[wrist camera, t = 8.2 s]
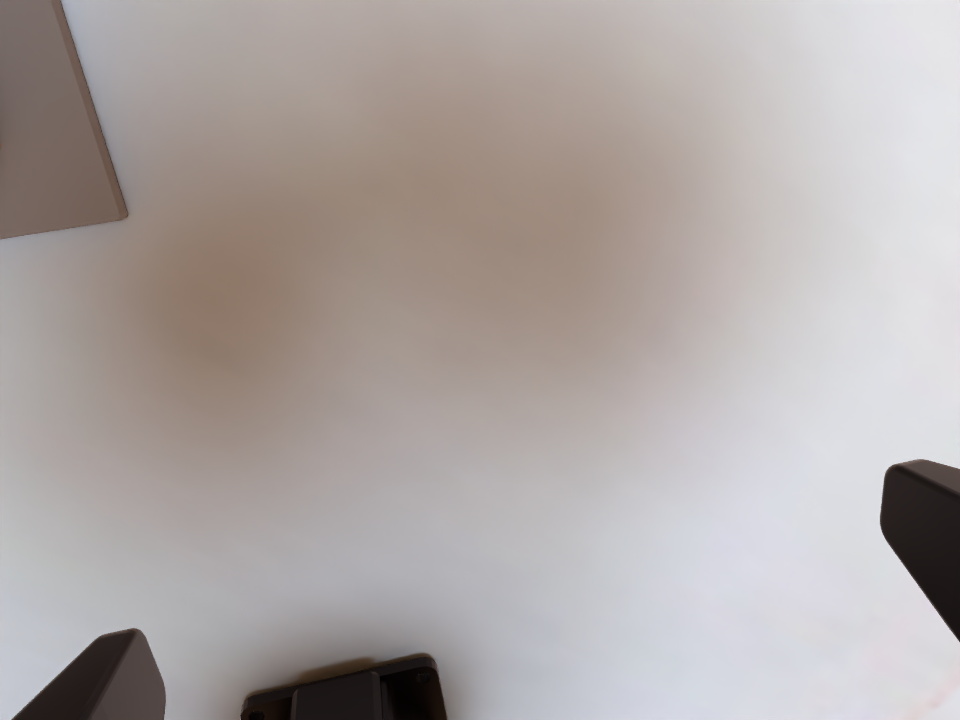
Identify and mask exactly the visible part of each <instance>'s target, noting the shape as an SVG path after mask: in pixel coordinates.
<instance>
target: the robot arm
mask: <svg viewBox="0 0 960 720" xmlns="http://www.w3.org/2000/svg"><path fill="white" fill-rule="evenodd" d="M880 525H881V530H882V533H883V535H884V537H885V539H886V541H887V542H888V544H889V545H890V547H891V548H892V549H893V551H894V552H895V554H896V555H897V556H898V558H899V559H900V560H901V562H902V563H903V565H904V566H905V567H906V569H907V570H908V572H909V573H910V574H911V576H912V577H913V579H914V580H915V581H916V583H917V584H918V586H919V587H920V588H921V590H922V591H923V592H924V594H925V595H926V597H927V598H928V599H929V601H930V602H931V604H932V605H933V606H934V608H935V609H936V611H937V612H938V613H939V615H940V616H941V618H942V619H943V620H944V622H945V623H946V625H947V626H948V627H949V629H950V630H951V631H952V632H953V634H954V635H955V636H956V638H957V639H958V640H959V642H960V469H958V468H954V467H950V466H947V465H943V464H939V463H936V462H932V461H929V460H924V459H918V460H913V461H908V462H903V463H899V464H894V465H892V466H891V467H889V468H888V470H887V471H886V473H885V477H884V485H883V495H882V504H881V513H880ZM421 672H427V673H426V674H424V675H419V673H421ZM165 704H166V694H165V687H164V682H163V679H162V677H161V674H160V672H159V669H158V667H157V664H156V662H155V659H154V657H153V654H152V652H151V649H150V647H149V644H148V642H147V639H146V637H145V635H144V634H143V633H142V631H141V630H139V629H136V628H131V629H127V630H122V631H117V632H113V633H108V634H104V635H101V636H99V637H98V638H97V639H96V640H94V641H93V642H92V643H91V644H90V645H89V646H88V647H87V648H86V649H85V650H84V651H83V652H82V653H81V654H80V655H79V656H77V657H76V658H75V659H74V660H73V661H72V662H71V663H70V664H69V665H68V666H67V667H66V668H65V669H64V670H63V671H62V672H61V673H60V674H59V675H58V676H57V677H55V678H54V679H53V680H52V681H51V682H50V683H49V684H48V685H47V686H46V687H45V688H44V689H43V690H42V691H41V692H40V693H39V694H38V695H37V696H36V697H35V698H34V699H32V700H31V701H30V702H29V703H28V704H27V705H26V706H25V707H24V708H23V709H22V710H21V711H20V712H19V713H18V714H17V715H16V716H15V717H14V718H13V719H12V720H164V714H165ZM253 711H261V712H260V713H255V712H253ZM241 720H448V719H447V714H446V709H445V704H444V699H443V694H442V689H441V684H440V679H439V674H438V669H437V665H436V663H435V661H433V660H432V659H431V658H427V657H423V658H416V659H412V660H408V661H403V662H399V663H395V664H390V665H386V666H382V667H377V668H373V669H369V670H364V671H360V672H355V673H351V674H347V675H342V676H338V677H334V678H329V679H325V680H321V681H316V682H312V683H308V684H303V685H299V686H294V687H290V688H286V689H281V690H277V691H273V692H268V693H264V694H260V695H255V696H252V697H250V698H248V699H247V700H245V701H244V703H243V705H242V710H241Z"/></svg>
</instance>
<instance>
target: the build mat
mask: <svg viewBox="0 0 960 720" xmlns="http://www.w3.org/2000/svg"><path fill="white" fill-rule="evenodd" d="M0 143H1V146H2V147H0V239H4V238H10V237H16V236H23V235H29V234H36V233H42V232H48V231H55V230H61V229H67V228H74V227H80V226H86V225H93V224H99V223H106V222H112V221H118V220H122V219H124V218H125V217H126V216H128V213H127V210H126V207H125V204H124V201H123V198H122V194H121V191H120V188H119V185H118V182H117V179H116V176H115V172H114V169H113V166H112V163H111V160H110V157H109V154H108V150H107V147H106V144H105V141H104V138H103V135H102V132H101V128H100V125H99V122H98V119H97V116H96V113H95V110H94V106H93V103H92V100H91V97H90V94H89V91H88V87H87V84H86V81H85V78H84V75H83V72H82V69H81V65H80V62H79V59H78V56H77V53H76V50H75V47H74V43H73V40H72V37H71V34H70V31H69V28H68V25H67V21H66V18H65V15H64V12H63V9H62V6H61V3H60V0H0Z"/></svg>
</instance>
